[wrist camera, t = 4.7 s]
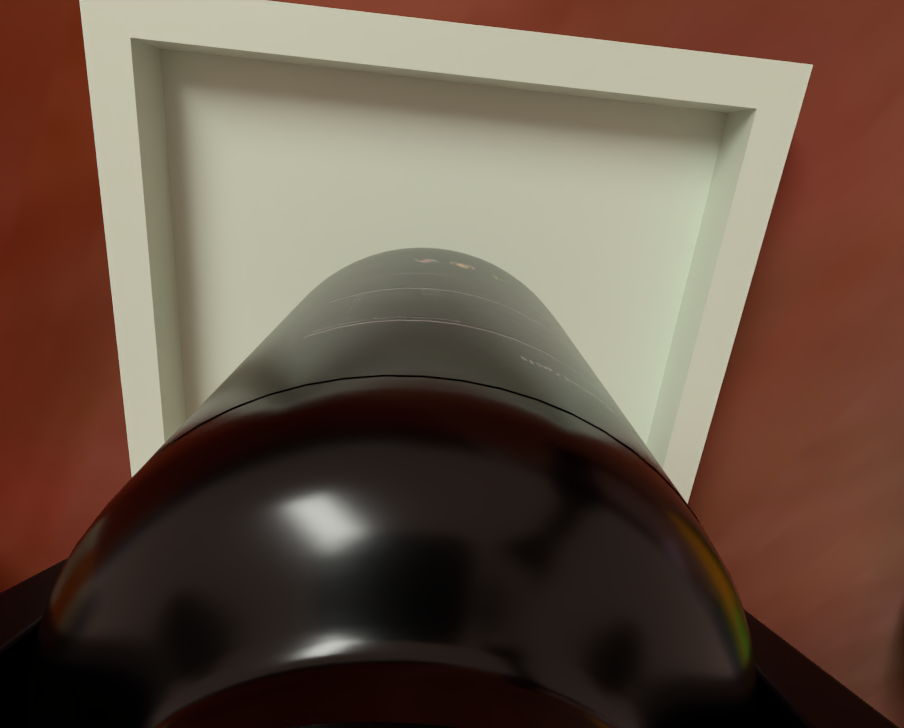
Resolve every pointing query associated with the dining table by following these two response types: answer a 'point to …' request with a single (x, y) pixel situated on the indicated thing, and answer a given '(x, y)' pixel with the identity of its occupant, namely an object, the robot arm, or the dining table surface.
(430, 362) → the supplement bottle
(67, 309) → the dining table surface
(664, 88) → the tray
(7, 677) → the robot arm
